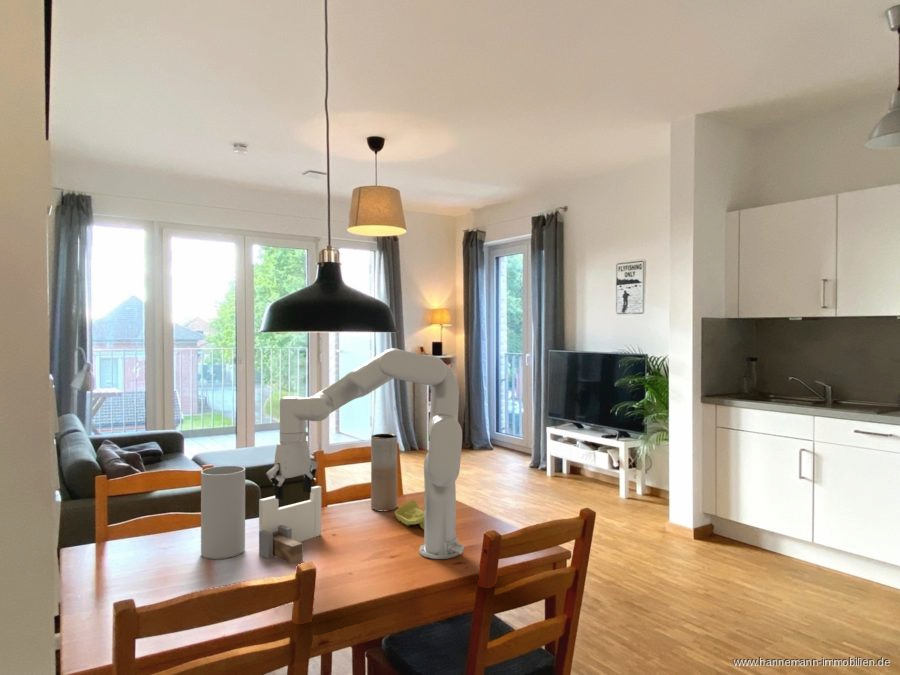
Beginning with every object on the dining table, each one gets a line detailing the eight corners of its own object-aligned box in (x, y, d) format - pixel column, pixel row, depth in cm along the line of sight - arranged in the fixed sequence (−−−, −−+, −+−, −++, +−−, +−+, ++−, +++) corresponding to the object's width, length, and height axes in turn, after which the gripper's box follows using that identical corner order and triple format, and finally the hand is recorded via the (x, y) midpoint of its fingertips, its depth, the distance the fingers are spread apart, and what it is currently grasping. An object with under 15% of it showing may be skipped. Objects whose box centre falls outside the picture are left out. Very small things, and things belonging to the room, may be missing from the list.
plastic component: (392, 512, 211) (415, 497, 215) (401, 529, 211) (423, 514, 216) (412, 523, 193) (437, 507, 197) (422, 542, 194) (446, 525, 198)
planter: (388, 502, 231) (388, 432, 231) (401, 508, 223) (402, 436, 223) (366, 507, 225) (366, 435, 225) (379, 513, 217) (379, 438, 217)
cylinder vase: (222, 562, 169) (222, 476, 169) (191, 556, 174) (191, 472, 174) (253, 548, 180) (254, 468, 180) (223, 542, 185) (224, 464, 185)
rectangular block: (302, 560, 170) (302, 540, 170) (292, 564, 168) (292, 543, 168) (277, 550, 179) (277, 531, 179) (267, 553, 176) (267, 534, 176)
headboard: (330, 538, 189) (330, 489, 189) (268, 558, 172) (268, 504, 172) (317, 533, 194) (317, 485, 194) (255, 553, 176) (255, 500, 176)
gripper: (309, 432, 181) (309, 487, 181) (259, 440, 168) (260, 499, 168) (324, 435, 177) (324, 491, 177) (274, 443, 163) (275, 504, 163)
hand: (293, 495), depth 172 cm, fingers open, 9 cm apart
